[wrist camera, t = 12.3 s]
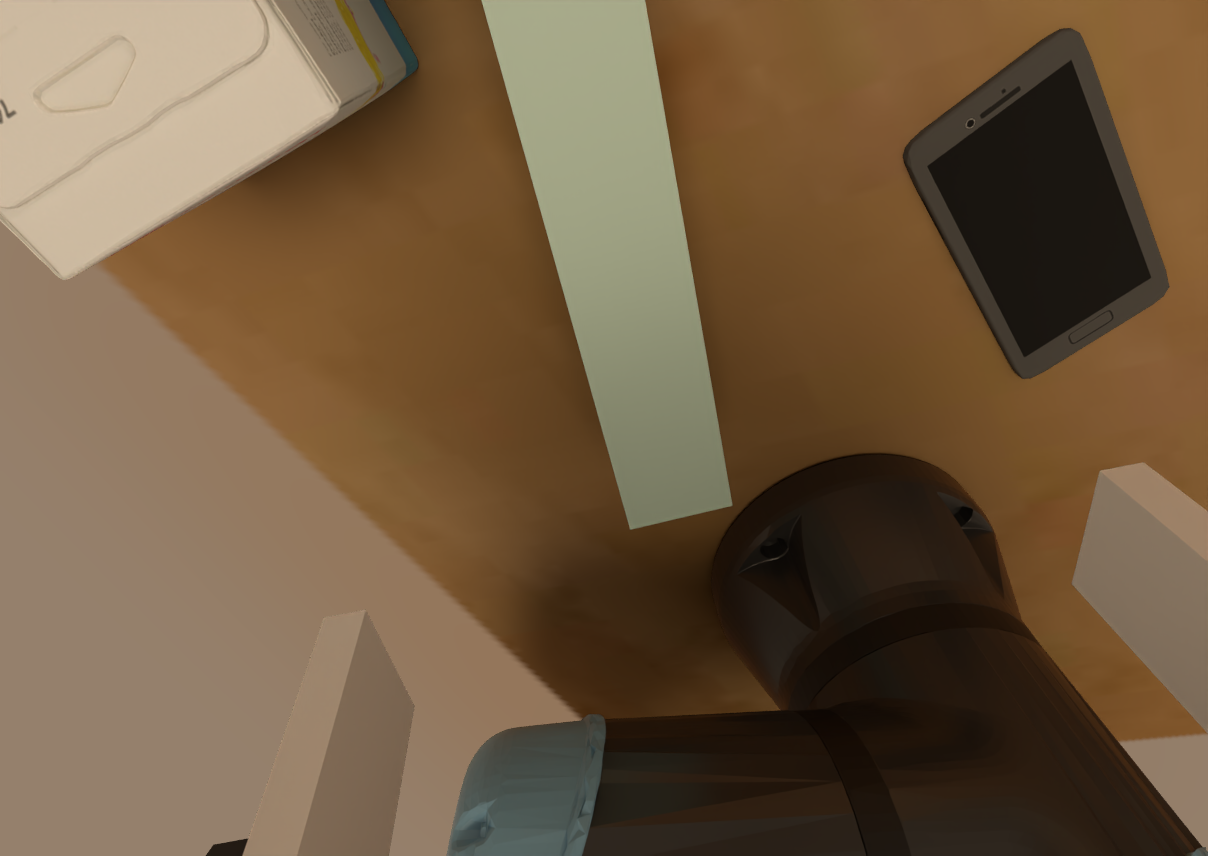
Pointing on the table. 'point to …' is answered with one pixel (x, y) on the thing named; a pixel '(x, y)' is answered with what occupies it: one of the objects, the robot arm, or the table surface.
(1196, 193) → the table surface
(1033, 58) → the cell phone
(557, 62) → the sage green box
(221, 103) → the ink box
